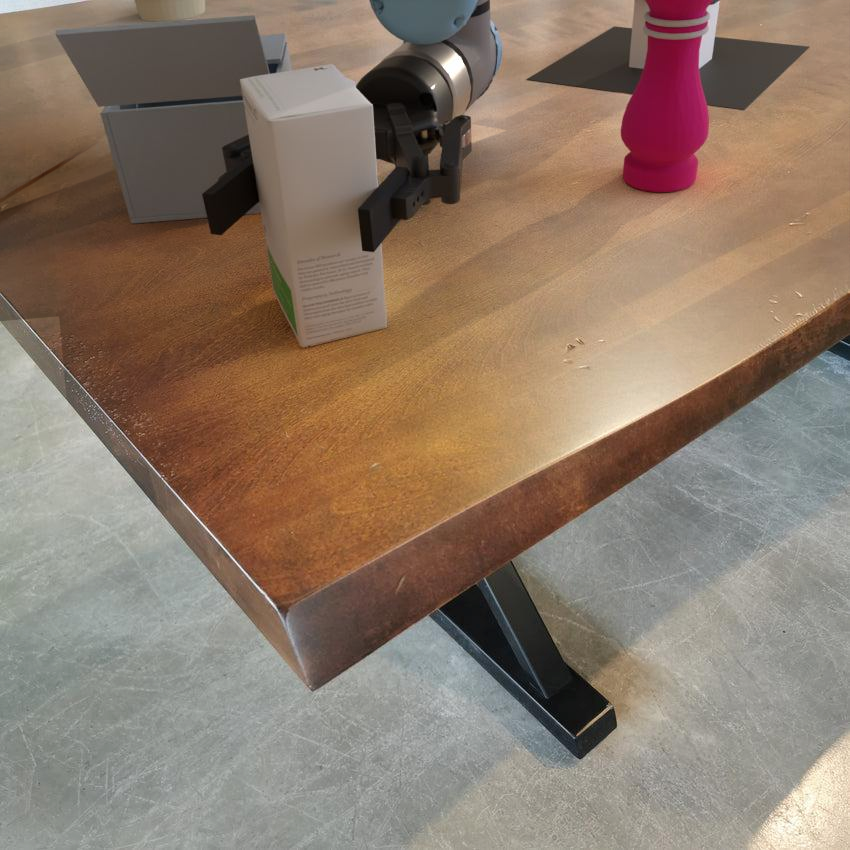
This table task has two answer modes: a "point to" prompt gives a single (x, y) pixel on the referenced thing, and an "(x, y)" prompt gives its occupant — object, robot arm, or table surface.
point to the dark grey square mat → (718, 62)
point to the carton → (178, 147)
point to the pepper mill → (668, 100)
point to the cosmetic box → (316, 199)
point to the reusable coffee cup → (169, 9)
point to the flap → (166, 59)
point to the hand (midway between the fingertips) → (286, 222)
